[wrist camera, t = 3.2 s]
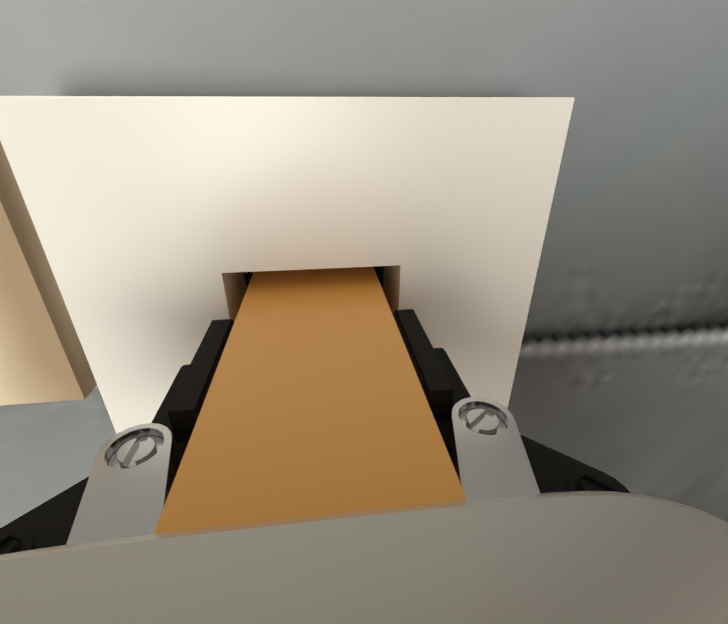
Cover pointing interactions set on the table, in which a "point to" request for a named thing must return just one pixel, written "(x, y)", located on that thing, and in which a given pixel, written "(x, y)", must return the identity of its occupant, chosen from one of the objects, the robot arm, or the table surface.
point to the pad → (33, 313)
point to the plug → (310, 411)
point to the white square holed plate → (284, 217)
